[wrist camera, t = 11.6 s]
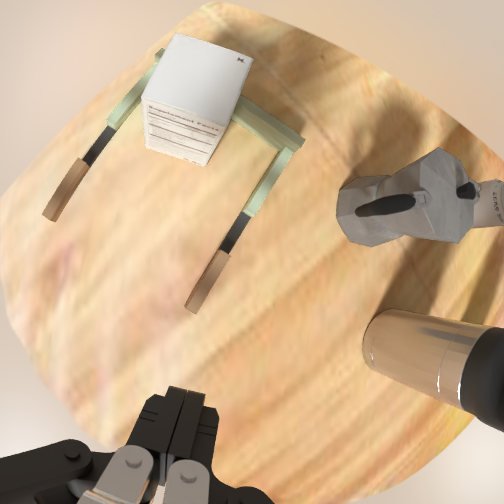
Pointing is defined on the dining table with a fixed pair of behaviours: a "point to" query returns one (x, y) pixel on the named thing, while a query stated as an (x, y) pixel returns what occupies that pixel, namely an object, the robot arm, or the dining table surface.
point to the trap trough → (286, 145)
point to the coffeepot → (410, 203)
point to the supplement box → (192, 98)
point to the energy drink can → (489, 205)
